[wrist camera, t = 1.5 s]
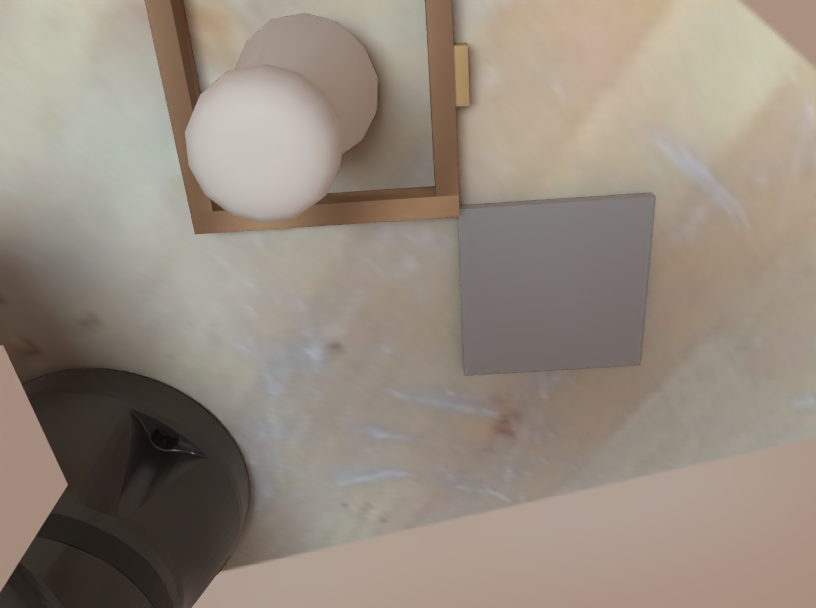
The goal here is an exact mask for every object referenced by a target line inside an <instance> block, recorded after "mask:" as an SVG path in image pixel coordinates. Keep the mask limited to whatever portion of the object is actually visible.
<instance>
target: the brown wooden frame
mask: <svg viewBox="0 0 816 608" xmlns="http://www.w3.org/2000/svg"><path fill="white" fill-rule="evenodd" d="M145 5H146V9H147V14H148V19H149V23H150V28H151V32H152V37H153V42H154V46H155V51H156V56H157V60H158V65H159V70H160V74H161V79H162V83H163V88H164V93H165V97H166V102H167V107H168V111H169V116H170V121H171V125H172V130H173V134H174V139H175V144H176V148H177V153H178V158H179V162H180V167H181V171H182V176H183V181H184V185H185V190H186V195H187V199H188V204H189V209H190V213H191V218H192V222H193V227H194V232H195V234H205V233H220V232H235V231H250V230H265V229H281V228H296V227H311V226H326V225H341V224H357V223H372V222H387V221H402V220H418V219H433V218H448V217H460V210H459V184H458V158H457V131H456V107H457V106H470V103H469V69H468V45H467V43H454V44H453V26H452V0H425V7H426V26H427V45H428V64H429V82H430V101H431V120H432V139H433V158H434V176H435V186H432V187H417V188H402V189H387V190H372V191H357V192H342V193H327V195H326V196H325V197H323V198H322V199H321V200H319V201H318V202H317V203H315V204H314V205H312V206H311V207H310V208H308V209H307V210H306V211H304V212H303V213H301V214H300V215H299V216H297V217H296V218H291V219H286V220H281V221H276V222H271V223H265V224H264V223H260V222H256V221H252V220H248V219H245V218H241V217H237V216H233V215H231V214H230V213H229V212H227V211H226V210H225V209H223V208H222V207H221V206H219V205H218V204H217V203H215V202H214V201H212V200H211V199H210V198H208V197H207V196H206V195H205V194H204V192H203V190H202V188H201V187H200V185H199V183H198V181H197V180H196V178H195V176H194V174H193V173H192V171H191V169H190V167H189V165H188V156H187V147H186V138H185V130H186V128H187V125H188V123H189V121H190V118H191V116H192V113H193V111H194V108H195V106H196V103H197V101H198V98H199V96H200V89H199V84H198V78H197V73H196V68H195V63H194V58H193V53H192V47H191V42H190V37H189V32H188V27H187V22H186V16H185V11H184V6H183V1H182V0H145Z"/></svg>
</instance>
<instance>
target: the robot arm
mask: <svg viewBox="0 0 816 608" xmlns="http://www.w3.org/2000/svg"><path fill="white" fill-rule="evenodd" d="M249 493H250V490H249V480H248V474H247V471H246V467H245V464H244V461H243V459H242V456H241V454H240V452H239V450H238V448H237V447H236V445H235V443H234V442H233V440H232V439H231V437H230V436H229V434H228V433H227V432H226V431H225V429H224V428H223V427H222V426H221V425H220V424H219V422H218V421H217V420H216V419H215V418H214V417H212V416H211V415H210V414H209V413H208V412H207V411H206V410H205V409H203V408H202V407H201V406H200V405H198V404H197V403H195V402H194V401H193V400H191V399H190V398H188V397H186V396H185V395H183V394H181V393H180V392H178V391H176V390H174V389H172V388H170V387H168V386H166V385H164V384H161V383H159V382H156V381H154V380H151V379H148V378H145V377H142V376H138V375H135V374H131V373H126V372H121V371H115V370H106V369H74V370H66V371H59V372H55V373H51V374H47V375H44V376H41V377H38V378H36V379H33V380H31V381H29V382H27V383H25V384H23V385H21V383H20V380H19V378H18V376H17V374H16V372H15V370H14V368H13V365H12V363H11V361H10V359H9V357H8V355H7V353H6V350H5V348H4V346H0V608H191V607H192V606H193V605H194V604H195V602H196V601H197V600H198V598H199V597H200V596H201V595H202V593H203V592H204V590H205V589H206V588H207V587H208V585H209V584H210V583H211V581H212V580H213V578H214V577H215V576H216V575H217V574H218V573H219V572H220V571H221V570H222V569H223V568H224V566H225V565H226V563H227V562H228V561H229V559H230V557H231V555H232V554H233V552H234V550H235V548H236V545H237V543H238V540H239V537H240V534H241V531H242V528H243V524H244V521H245V517H246V514H247V510H248V505H249Z"/></svg>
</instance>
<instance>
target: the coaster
mask: <svg viewBox="0 0 816 608" xmlns="http://www.w3.org/2000/svg"><path fill="white" fill-rule="evenodd" d="M654 203H655V196H654V195H653V194H652V193H639V194H624V195H609V196H594V197H579V198H564V199H549V200H533V201H518V202H503V203H488V204H473V205H459V210H460V217H458V233H459V258H460V284H461V309H462V335H463V360H464V374H465V376H468V375H485V374H501V373H518V372H535V371H552V370H569V369H586V368H603V367H620V366H637V365H640V358H641V347H642V336H643V325H644V314H645V303H646V292H647V281H648V270H649V258H650V247H651V236H652V225H653V214H654Z"/></svg>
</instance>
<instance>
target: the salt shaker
mask: <svg viewBox="0 0 816 608" xmlns="http://www.w3.org/2000/svg"><path fill="white" fill-rule="evenodd" d="M377 92H378V77H377V75H376V72H375V70H374V68H373V65H372V63H371V61H370V59H369V56H368V54H367V52H366V49H365V47H364V46H363V45H362V44H361V43H360V42H359V41H358V40H357V39H356V38H355V37H354V36H352V35H351V34H350V33H349V32H348V31H347V30H346V29H345V28H344V27H342V26H341V25H340V24H339V23H338V22H335V21H332V20H328V19H325V18H321V17H317V16H314V15H310V14H307V13H302V14H297V15H291V16H286V17H281V18H275V19H271V20H270V21H269V22H268V23H267V24H265V25H264V26H263V27H262V28H261V29H260V30H259V31H257V32H256V33H255V34H254V35H253V36H252V37H251V38H249V39H248V40H247V41H246V44H245V46H244V48H243V51H242V53H241V55H240V58H239V60H238V62H237V65H236V67H235V69H234V70H231V71H228V72H226V73H225V74H223V75H222V76H221V77H220V78H219V79H218V80H216V81H215V82H214V83H213V84H212V85H211V86H209V87H208V88H207V89H206V90H205V91H204V92H202V93H201V94H200V96H199V98H198V101H197V103H196V106H195V108H194V111H193V113H192V116H191V118H190V121H189V123H188V125H187V128H186V130H185V138H186V147H187V156H188V165H189V167H190V169H191V171H192V173H193V174H194V176H195V178H196V180H197V181H198V183H199V185H200V187H201V188H202V190H203V192H204V194H205V195H206V196H207V197H208V198H210V199H211V200H212V201H214V202H215V203H217V204H218V205H219V206H221V207H222V208H223V209H225V210H226V211H227V212H229V213H230V214H231V215H233V216H237V217H241V218H245V219H248V220H252V221H256V222H260V223H264V224H265V223H271V222H276V221H281V220H286V219H291V218H296V217H297V216H299V215H300V214H301V213H303V212H304V211H306V210H307V209H308V208H310V207H311V206H312V205H314V204H315V203H317V202H318V201H319V200H321V199H322V198H323V197H325V196H326V195H327V192H328V190H329V188H330V186H331V184H332V182H333V180H334V178H335V176H336V174H337V172H338V170H339V168H340V164H341V155H343V154H344V153H345V152H347V151H348V150H349V149H351V148H352V147H353V146H355V145H356V144H357V143H359V142H360V141H362V140H363V138H364V136H365V134H366V132H367V130H368V128H369V126H370V124H371V122H372V120H373V118H374V116H375V114H376V112H377Z"/></svg>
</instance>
